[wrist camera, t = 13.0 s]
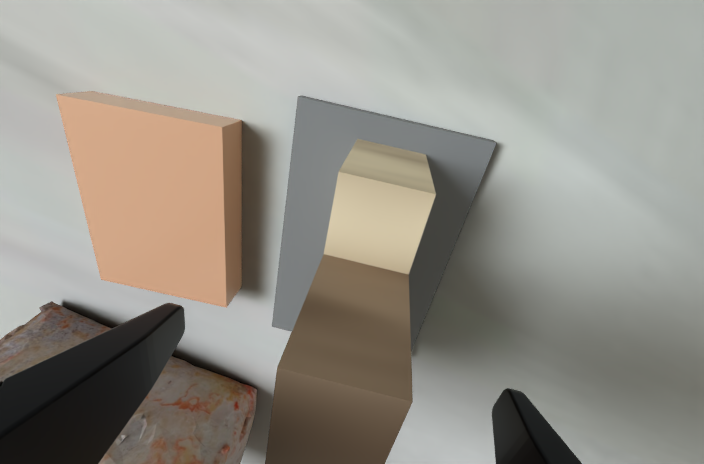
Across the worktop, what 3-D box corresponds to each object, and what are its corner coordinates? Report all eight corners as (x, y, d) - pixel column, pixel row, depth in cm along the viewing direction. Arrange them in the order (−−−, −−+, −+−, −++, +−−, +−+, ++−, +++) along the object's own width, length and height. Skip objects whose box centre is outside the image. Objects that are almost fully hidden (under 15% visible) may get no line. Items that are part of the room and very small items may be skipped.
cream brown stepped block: (370, 334, 16) (346, 549, 9) (320, 322, 16) (256, 525, 9) (425, 154, 12) (461, 293, 5) (357, 138, 12) (292, 252, 5)
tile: (132, 256, 17) (245, 281, 17) (101, 279, 15) (226, 307, 15) (102, 90, 13) (246, 118, 13) (56, 94, 11) (222, 127, 11)
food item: (282, 383, 19) (186, 644, 11) (244, 447, 23) (149, 679, 14) (56, 282, 18) (-264, 487, 9) (53, 367, 22) (-177, 570, 13)
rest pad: (407, 354, 17) (407, 360, 16) (274, 320, 17) (271, 326, 17) (493, 140, 12) (496, 142, 11) (301, 95, 12) (297, 96, 11)
